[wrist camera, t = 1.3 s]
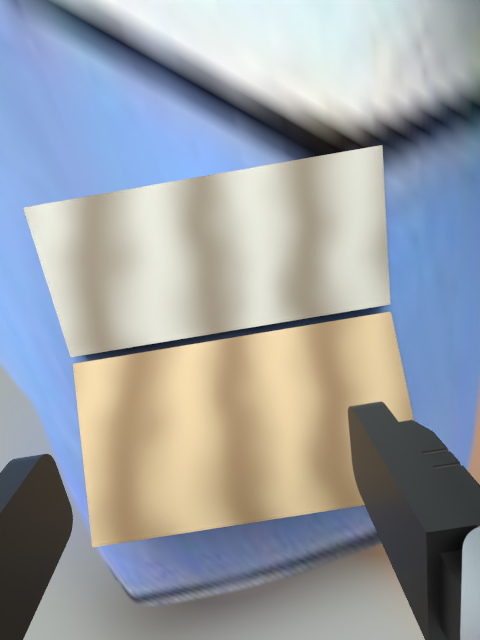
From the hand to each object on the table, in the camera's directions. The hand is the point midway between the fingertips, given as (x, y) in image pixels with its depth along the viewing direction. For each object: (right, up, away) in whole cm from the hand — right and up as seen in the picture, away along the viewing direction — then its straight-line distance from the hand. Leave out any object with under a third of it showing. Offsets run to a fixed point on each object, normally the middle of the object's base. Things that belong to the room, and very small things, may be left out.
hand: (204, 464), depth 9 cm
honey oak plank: (+1, -4, +19) cm, 20 cm away
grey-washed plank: (-1, +8, +18) cm, 20 cm away
